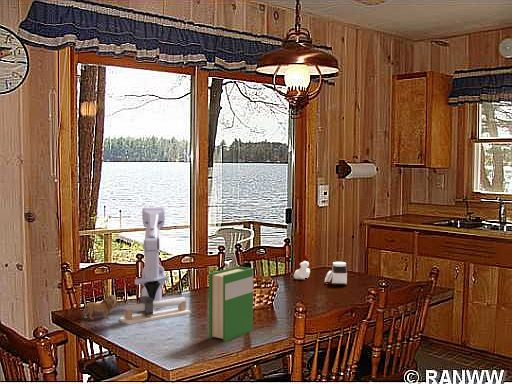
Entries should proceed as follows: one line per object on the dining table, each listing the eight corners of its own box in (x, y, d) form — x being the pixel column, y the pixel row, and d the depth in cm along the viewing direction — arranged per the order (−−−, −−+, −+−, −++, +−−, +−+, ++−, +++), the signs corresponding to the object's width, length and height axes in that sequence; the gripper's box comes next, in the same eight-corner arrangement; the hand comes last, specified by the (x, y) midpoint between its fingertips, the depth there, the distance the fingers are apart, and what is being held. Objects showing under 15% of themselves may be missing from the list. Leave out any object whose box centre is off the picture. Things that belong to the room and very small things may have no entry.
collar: (139, 312, 250) (139, 296, 250) (146, 311, 252) (146, 295, 252) (146, 315, 245) (146, 299, 245) (153, 314, 247) (152, 298, 247)
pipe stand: (119, 320, 246) (119, 304, 245) (181, 309, 264) (181, 294, 263) (128, 324, 240) (128, 308, 239) (190, 313, 257) (190, 298, 257)
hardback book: (225, 341, 218) (225, 275, 217) (208, 338, 222) (209, 273, 221) (252, 330, 233) (253, 268, 231) (237, 327, 237) (237, 266, 235)
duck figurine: (296, 284, 329) (306, 269, 324) (287, 274, 333) (297, 259, 328) (309, 281, 338) (319, 267, 332) (301, 271, 342) (311, 257, 336)
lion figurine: (114, 314, 255) (114, 293, 254) (118, 317, 250) (117, 295, 250) (79, 318, 248) (78, 296, 248) (81, 321, 243) (81, 299, 243)
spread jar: (347, 286, 313) (348, 264, 313) (325, 286, 313) (326, 264, 313) (344, 282, 325) (345, 260, 325) (323, 282, 325) (323, 260, 325)
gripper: (140, 270, 242) (140, 304, 242) (172, 266, 251) (172, 299, 251) (132, 267, 247) (132, 300, 248) (163, 264, 256) (163, 296, 257)
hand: (151, 299), depth 250 cm, fingers closed
